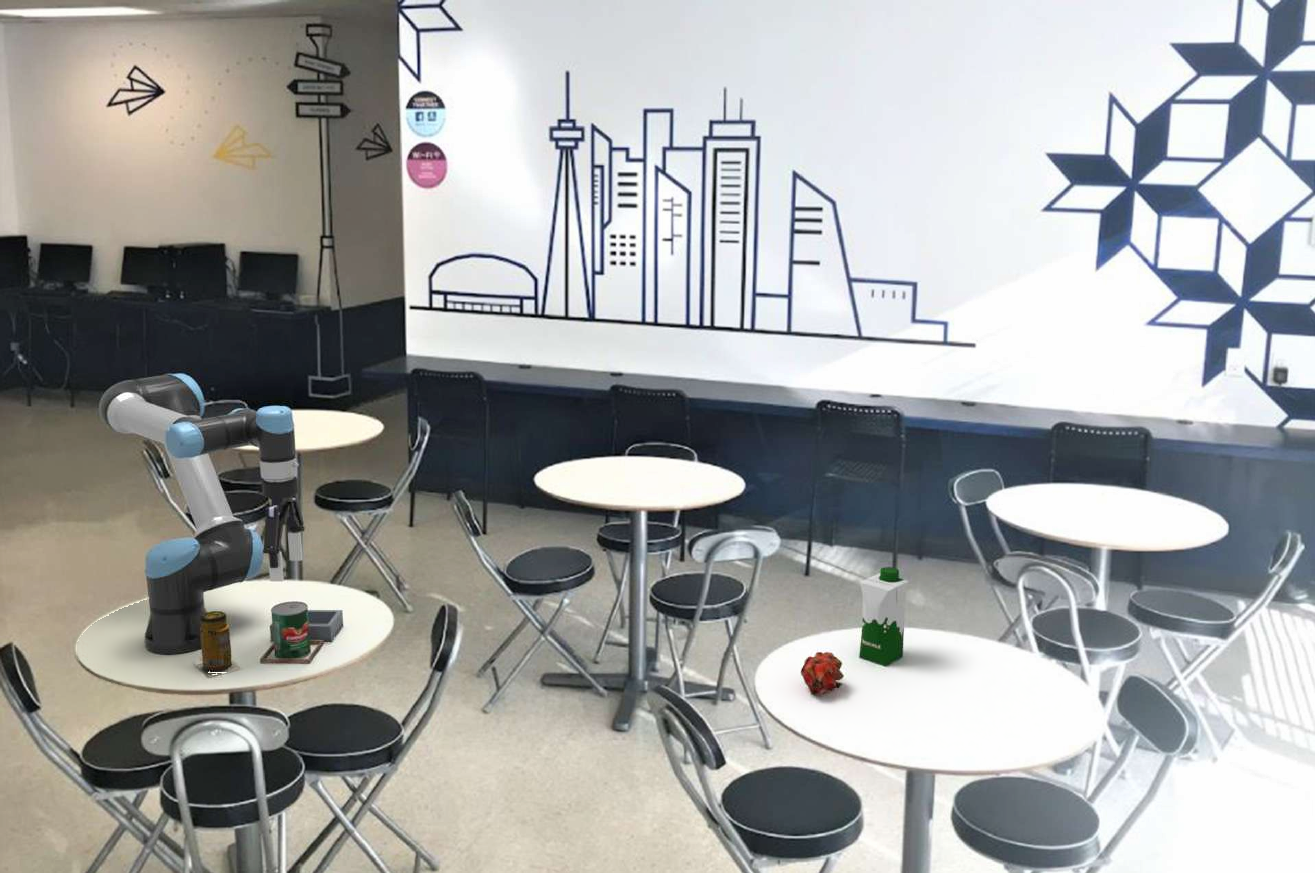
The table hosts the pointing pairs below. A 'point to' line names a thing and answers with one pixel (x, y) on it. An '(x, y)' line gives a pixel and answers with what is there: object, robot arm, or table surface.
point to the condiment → (215, 644)
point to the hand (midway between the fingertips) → (286, 570)
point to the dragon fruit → (822, 672)
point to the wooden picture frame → (292, 660)
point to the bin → (322, 624)
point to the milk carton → (883, 617)
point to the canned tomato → (291, 630)
